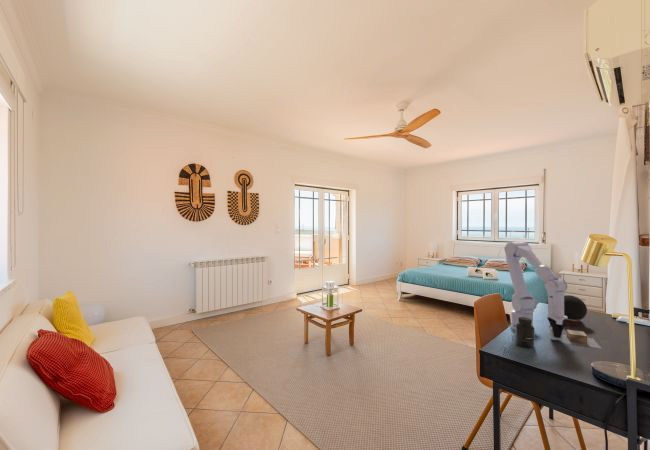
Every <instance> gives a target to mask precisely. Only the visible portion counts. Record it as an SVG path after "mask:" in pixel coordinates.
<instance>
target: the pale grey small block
mask: <svg viewBox="0 0 650 450" xmlns="http://www.w3.org/2000/svg"><path fill="white" fill-rule="evenodd" d="M548 331H549V336H550V340H553V341H559V340H563V337H562V335H563V333H562V334H561V337H560V338H556V337H554V334H553V329H552V326H550V325H548Z"/></svg>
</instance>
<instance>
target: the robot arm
mask: <svg viewBox="0 0 650 450" xmlns="http://www.w3.org/2000/svg"><path fill="white" fill-rule="evenodd" d="M503 249H504V252H505V259H506V264H507V268H508V272H509V276H510V280H511V283H512V287H513V290H514V293H513V294H512V295H511V307H512V308H513V310H512V309H511V311H510V326H511V325H512V326H511V329H512V330H514V331H516V324H517V323H519V322H518V318H519V317H526V318H530V319H531V320H532V324H531V325H532V326H533V327H534V312H535V310H536V309H537V307H538V306H537V305H538V304H537V302H536V300H535V297H534V296H533V294H532V293H530V291H528V289H527V285H526V281H525V278H524V274H523V271H522V266H521V264H520V260H522V259H521V258H525V260H527V262H528V263H529V264H530V265H532V267H534V268H535V270H534V271H535V274H536V275H537V276H538V278H540V280H541V281H542V282H543V285H544V288H545V290H546V294H547V317H546V319H547V320H548V322H549V326H552V329H553V334H554V337H556V338H560V337H561V334H562V335H563V331H564V328H565V327H567V326H566V324H565V323H562V321H563V320H564V319H568V317H567V316H564V296H565V292H566V291H567V290H568V283H567V282H566V280H565V279H563V278H560V277H559V276H557V274H555V273H554V272H553V270H551V269H552V268H551V267H549V266H548V265H544V264H543V263H542V262H541V260H540V259H539V258H538V257H537V255H536V253H534V252H533V250H532V246H531V245H530V244H529V243H528V242H526V241H514V242H513V241H510V242H507V243H506V245H504V248H503ZM534 333H536V331H535V329H534Z"/></svg>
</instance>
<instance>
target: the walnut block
mask: <svg viewBox="0 0 650 450" xmlns="http://www.w3.org/2000/svg"><path fill="white" fill-rule="evenodd" d="M566 335H567V338H568V339H569V341H570V342H576V343H583V344H587V338H588V335H587V334H586V333H585V331H581V330H575V329H574V330H572V329H566Z"/></svg>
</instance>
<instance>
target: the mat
mask: <svg viewBox="0 0 650 450" xmlns="http://www.w3.org/2000/svg"><path fill="white" fill-rule="evenodd" d="M562 337H563V340H558V341H559V343H560V344H561V343H562V344H566V345H567V344H568V345H575V346H581V347H582V346H583V347H588V348H590V347H591V348H595V349H596V348H597V349H602V346H600V344H598V342H596V340H595V339H594V338H592V337H587V344H583V343H576V342H570V341H569V339H568V338H567V334H562Z"/></svg>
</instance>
